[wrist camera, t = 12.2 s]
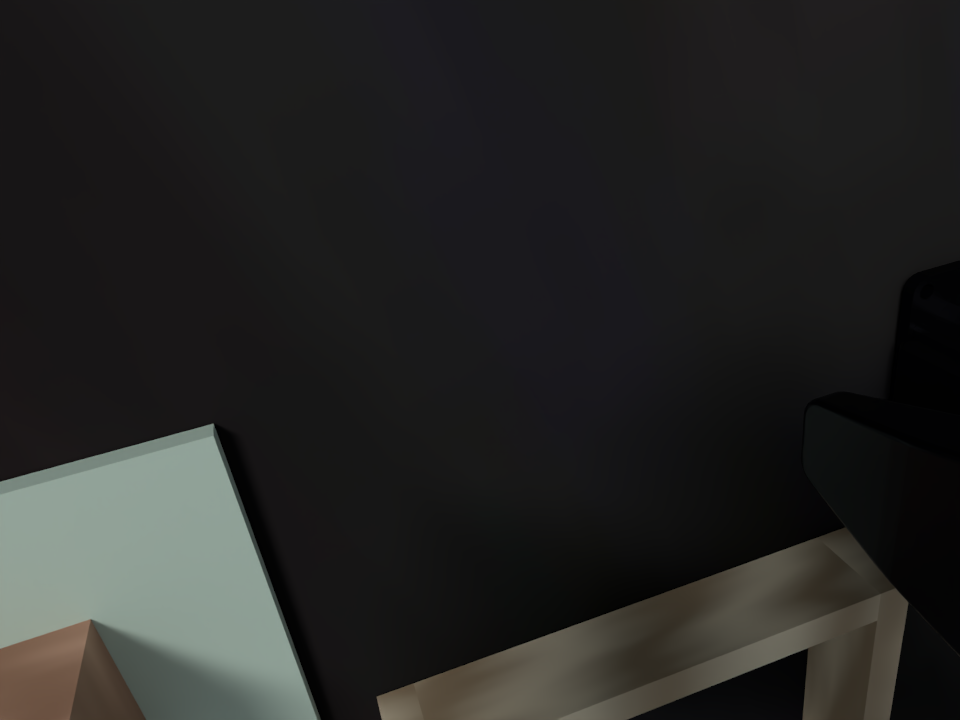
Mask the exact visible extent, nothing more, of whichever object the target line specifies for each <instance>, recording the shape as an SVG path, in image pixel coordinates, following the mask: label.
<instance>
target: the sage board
mask: <svg viewBox="0 0 960 720" xmlns="http://www.w3.org/2000/svg"><path fill="white" fill-rule="evenodd" d="M90 619H91V621H92V622H93V624H94V626H95V628H96V630H97V631H98V633H99V635H100V637H101V639H102V641H103V642H104V644H105V646H106V648H107V650H108V651H109V653H110V655H111V657H112V659H113V660H114V662H115V664H116V666H117V668H118V670H119V671H120V673H121V675H122V677H123V679H124V680H125V682H126V684H127V686H128V688H129V689H130V691H131V693H132V695H133V697H134V699H135V700H136V702H137V704H138V706H139V708H140V709H141V711H142V713H143V715H144V717H145V718H146V720H321V719H320V716H319V713H318V710H317V708H316V705H315V702H314V699H313V696H312V694H311V691H310V688H309V685H308V683H307V680H306V677H305V674H304V672H303V669H302V666H301V663H300V661H299V658H298V655H297V652H296V650H295V647H294V644H293V641H292V639H291V636H290V633H289V630H288V628H287V625H286V622H285V619H284V617H283V614H282V611H281V608H280V605H279V603H278V600H277V597H276V594H275V592H274V589H273V586H272V583H271V581H270V578H269V575H268V572H267V570H266V567H265V564H264V561H263V559H262V556H261V553H260V550H259V548H258V545H257V542H256V539H255V537H254V534H253V531H252V528H251V525H250V523H249V520H248V517H247V514H246V512H245V509H244V506H243V503H242V501H241V498H240V495H239V492H238V490H237V487H236V484H235V481H234V479H233V476H232V473H231V470H230V468H229V465H228V462H227V459H226V457H225V454H224V451H223V448H222V445H221V443H220V440H219V437H218V434H217V432H216V429H215V426H214V424H211V425H207V426H203V427H200V428H196V429H192V430H189V431H185V432H181V433H178V434H174V435H170V436H167V437H163V438H159V439H156V440H152V441H148V442H145V443H141V444H137V445H134V446H130V447H126V448H123V449H119V450H115V451H112V452H108V453H104V454H101V455H97V456H93V457H90V458H86V459H82V460H79V461H75V462H71V463H68V464H64V465H60V466H57V467H53V468H49V469H46V470H42V471H38V472H35V473H31V474H27V475H24V476H20V477H16V478H13V479H9V480H5V481H2V482H0V649H1V648H4V647H7V646H10V645H13V644H16V643H19V642H22V641H25V640H28V639H31V638H34V637H38V636H41V635H44V634H47V633H50V632H53V631H56V630H59V629H62V628H65V627H68V626H71V625H74V624H77V623H80V622H83V621H87V620H90Z"/></svg>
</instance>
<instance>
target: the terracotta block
mask: <svg viewBox="0 0 960 720" xmlns="http://www.w3.org/2000/svg"><path fill="white" fill-rule="evenodd" d="M0 720H146V718H145V717H144V715H143V713H142V711H141V709H140V708H139V706H138V704H137V702H136V700H135V699H134V697H133V695H132V693H131V691H130V689H129V688H128V686H127V684H126V682H125V680H124V679H123V677H122V675H121V673H120V671H119V670H118V668H117V666H116V664H115V662H114V660H113V659H112V657H111V655H110V653H109V651H108V650H107V648H106V646H105V644H104V642H103V641H102V639H101V637H100V635H99V633H98V631H97V630H96V628H95V626H94V624H93V622H92V621H91V619H90V620H87V621H83V622H80V623H77V624H74V625H71V626H68V627H65V628H62V629H59V630H56V631H53V632H50V633H47V634H44V635H41V636H38V637H34V638H31V639H28V640H25V641H22V642H19V643H16V644H13V645H10V646H7V647H4V648H1V649H0Z"/></svg>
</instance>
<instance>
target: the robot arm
mask: <svg viewBox="0 0 960 720" xmlns="http://www.w3.org/2000/svg"><path fill="white" fill-rule="evenodd" d="M801 461H802V466H803V469H804V472H805V474H806V476H807V478H808V479H809V481H810V482H811V484H812V485H813V486H814V487H815V489H816V490H817V491H818V493H819V494H820V495H821V496H822V498H823V499H824V500H825V501H826V503H827V504H828V505H829V507H830V508H831V509H832V510H833V512H834V513H835V514H836V515H837V517H838V518H839V519H840V521H841V522H842V523H843V524H844V526H845V527H846V528H847V529H848V531H849V532H850V533H851V535H852V536H853V537H854V538H855V540H856V541H857V542H858V543H859V545H860V546H861V547H862V549H863V550H864V551H865V552H866V554H867V555H868V556H869V557H870V559H871V560H872V561H873V563H874V564H875V565H876V566H877V567H878V569H879V570H880V571H881V572H882V573H883V575H884V576H885V577H886V578H887V579H888V581H889V582H890V583H891V584H892V585H893V586H894V587H895V588H896V590H897V591H898V592H899V593H900V594H901V595H902V596H903V597H904V598H905V599H906V600H907V602H908V603H909V604H910V605H911V606H912V607H913V608H914V609H915V610H916V611H917V612H918V613H919V614H920V615H921V616H922V617H923V618H924V619H925V620H926V621H927V623H928V624H929V625H930V626H931V627H932V628H933V629H934V630H935V631H936V632H937V633H938V634H939V635H940V636H941V637H942V638H943V639H944V640H945V641H946V642H947V643H948V645H949V646H950V647H951V648H952V649H953V650H954V651H955V652H956V653H957V654H958V655H959V656H960V261H956V262H953V263H949V264H946V265H942V266H939V267H935V268H932V269H929V270H925V271H922V272H918V273H916V274H914V275H913V276H912V277H911V278H909V279H908V281H907V283H906V284H905V286H904V290H903V296H902V304H901V312H900V320H899V328H898V336H897V344H896V352H895V360H894V368H893V376H892V384H891V392H890V400H889V401H888V400H883V399H878V398H873V397H868V396H863V395H859V394H854V393H849V392H836V393H832V394H829V395H826V396H823V397H820V398H817V399H814V400H812V401H811V402H809V403H808V405H807V406H806V408H805V412H804V423H803V438H802V453H801Z"/></svg>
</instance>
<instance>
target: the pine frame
mask: <svg viewBox="0 0 960 720" xmlns="http://www.w3.org/2000/svg"><path fill="white" fill-rule="evenodd" d="M907 608H908V602H907V600H906V599H905V598H904V597H903V596H902V595H901V594H900V593H899V592H898V591H897V590H896V588H895V587H894V586H893V585H892V584H891V583H890V582H889V581H888V579H887V578H886V577H885V576H884V575H883V573H882V572H881V571H880V570H879V569H878V567H877V566H876V565H875V564H874V563H873V561H872V560H871V559H870V557H869V556H868V555H867V554H866V552H865V551H864V550H863V549H862V547H861V546H860V545H859V543H858V542H857V541H856V540H855V538H854V537H853V536H852V535H851V533H850V532H849V531H848V529H847V528H846V527H845V528H842V529H840V530H837V531H834V532H831V533H828V534H826V535H823V536H820V537H817V538H815V539H812V540H809V541H806V542H804V543H801V544H798V545H795V546H792V547H790V548H787V549H784V550H781V551H779V552H776V553H773V554H770V555H768V556H765V557H762V558H759V559H757V560H754V561H751V562H748V563H745V564H743V565H740V566H737V567H734V568H732V569H729V570H726V571H723V572H721V573H718V574H715V575H712V576H709V577H707V578H704V579H701V580H698V581H696V582H693V583H690V584H687V585H685V586H682V587H679V588H676V589H673V590H671V591H668V592H665V593H662V594H660V595H657V596H654V597H651V598H649V599H646V600H643V601H640V602H637V603H635V604H632V605H629V606H626V607H624V608H621V609H618V610H615V611H613V612H610V613H607V614H604V615H601V616H599V617H596V618H593V619H590V620H588V621H585V622H582V623H579V624H577V625H574V626H571V627H568V628H565V629H563V630H560V631H557V632H554V633H552V634H549V635H546V636H543V637H541V638H538V639H535V640H532V641H530V642H527V643H524V644H521V645H518V646H516V647H513V648H510V649H507V650H505V651H502V652H499V653H496V654H494V655H491V656H488V657H485V658H482V659H480V660H477V661H474V662H471V663H469V664H466V665H463V666H460V667H458V668H455V669H452V670H449V671H446V672H444V673H441V674H438V675H435V676H433V677H430V678H427V679H424V680H422V681H419V682H416V683H413V684H410V685H408V686H405V687H402V688H399V689H397V690H394V691H391V692H388V693H386V694H383V695H380V696H377V700H378V705H379V709H380V713H381V718H382V720H627V719H630V718H632V717H635V716H637V715H640V714H642V713H645V712H647V711H650V710H652V709H655V708H657V707H660V706H663V705H665V704H668V703H670V702H673V701H675V700H678V699H680V698H683V697H685V696H688V695H690V694H693V693H695V692H698V691H700V690H703V689H706V688H708V687H711V686H713V685H716V684H718V683H721V682H723V681H726V680H728V679H731V678H733V677H736V676H738V675H741V674H743V673H746V672H749V671H751V670H754V669H756V668H759V667H761V666H764V665H766V664H769V663H771V662H774V661H776V660H779V659H781V658H784V657H787V656H789V655H792V654H794V653H797V652H799V651H802V650H804V649H807V648H808V659H807V671H806V683H805V696H804V708H803V720H890V713H891V707H892V701H893V695H894V689H895V682H896V676H897V670H898V664H899V658H900V651H901V645H902V639H903V633H904V627H905V620H906V614H907Z"/></svg>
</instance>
